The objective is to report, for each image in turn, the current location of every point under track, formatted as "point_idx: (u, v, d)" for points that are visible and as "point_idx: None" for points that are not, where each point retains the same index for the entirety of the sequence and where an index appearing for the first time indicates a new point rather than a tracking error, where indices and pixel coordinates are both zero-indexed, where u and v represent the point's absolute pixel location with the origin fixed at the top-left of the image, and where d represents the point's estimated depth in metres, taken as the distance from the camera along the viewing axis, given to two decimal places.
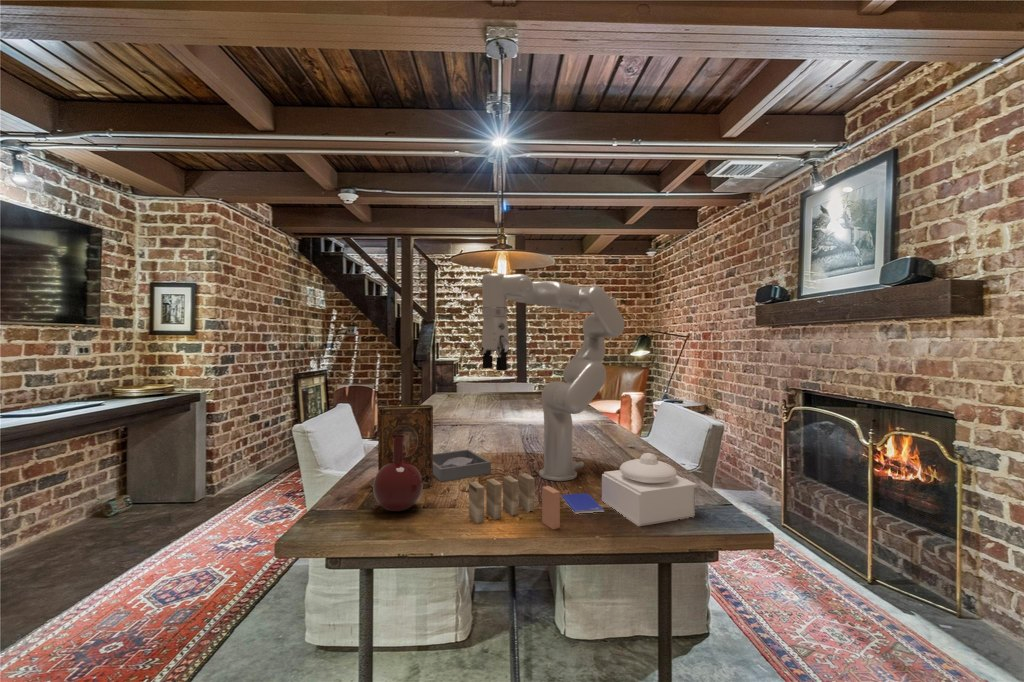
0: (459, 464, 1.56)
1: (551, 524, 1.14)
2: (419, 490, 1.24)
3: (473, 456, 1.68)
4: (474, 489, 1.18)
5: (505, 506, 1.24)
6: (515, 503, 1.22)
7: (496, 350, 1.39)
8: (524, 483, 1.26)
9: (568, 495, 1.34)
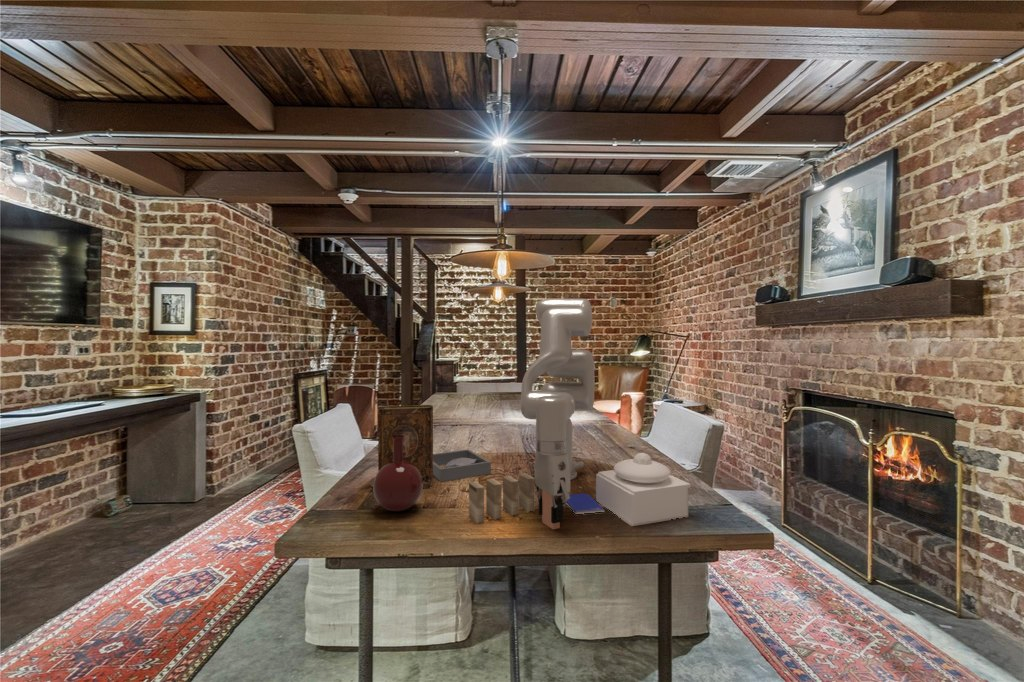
0: None
1: (551, 524, 1.14)
2: (419, 490, 1.24)
3: (473, 456, 1.68)
4: (474, 489, 1.18)
5: (505, 506, 1.24)
6: (515, 503, 1.22)
7: (552, 496, 1.13)
8: (524, 483, 1.26)
9: None
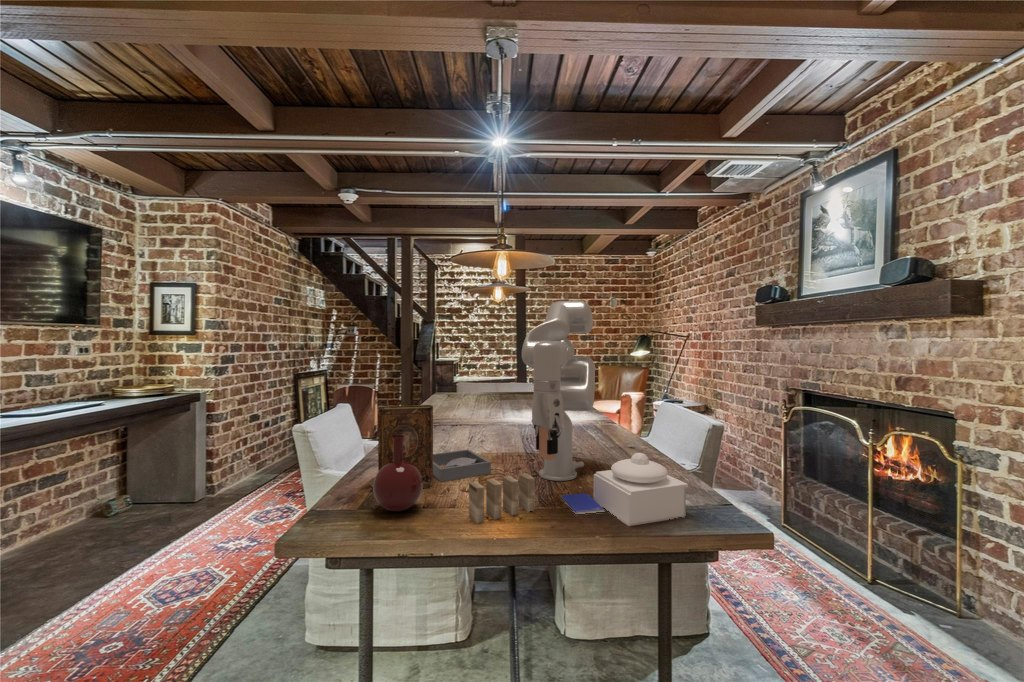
0: None
1: (547, 456, 1.27)
2: (419, 490, 1.24)
3: (473, 456, 1.68)
4: (474, 489, 1.18)
5: (505, 506, 1.24)
6: (515, 503, 1.22)
7: (548, 430, 1.26)
8: (524, 483, 1.26)
9: (568, 495, 1.34)
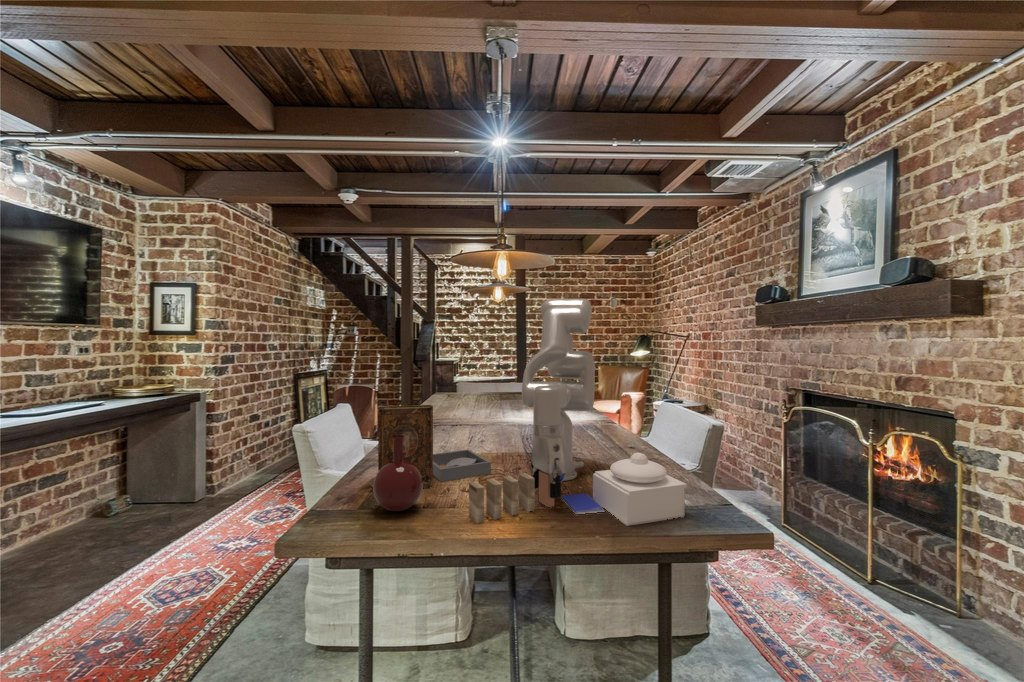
0: (465, 464, 1.55)
1: (546, 503, 1.28)
2: (419, 490, 1.24)
3: (473, 456, 1.68)
4: (474, 489, 1.18)
5: (505, 506, 1.24)
6: (515, 503, 1.22)
7: (550, 474, 1.26)
8: (524, 483, 1.26)
9: (568, 496, 1.34)
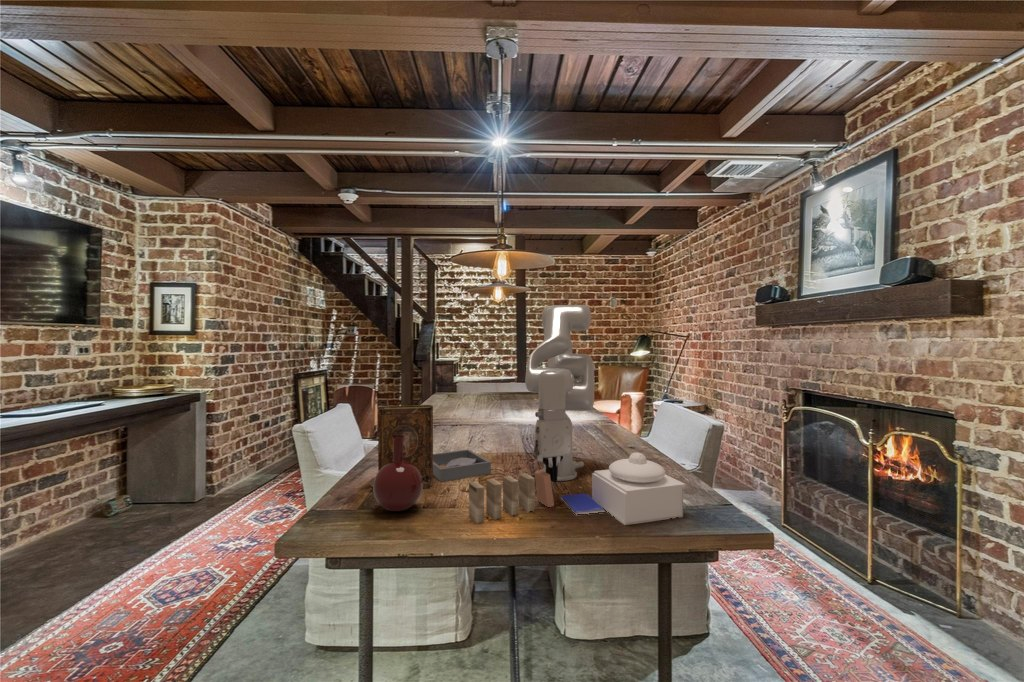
0: (465, 464, 1.55)
1: (546, 503, 1.28)
2: (419, 490, 1.24)
3: (473, 456, 1.68)
4: (474, 489, 1.18)
5: (505, 506, 1.24)
6: (515, 503, 1.22)
7: None
8: (524, 483, 1.26)
9: (567, 496, 1.34)
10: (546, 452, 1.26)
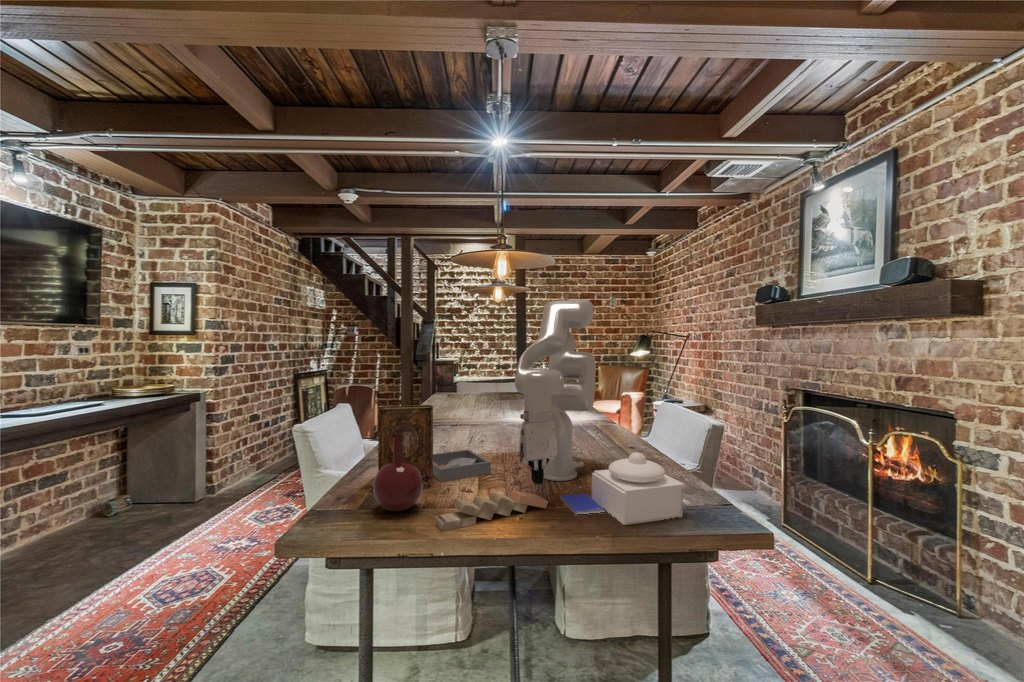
0: (466, 464, 1.55)
1: None
2: (419, 490, 1.24)
3: (473, 456, 1.68)
4: None
5: None
6: (501, 509, 1.20)
7: None
8: None
9: (567, 496, 1.34)
10: (531, 455, 1.24)
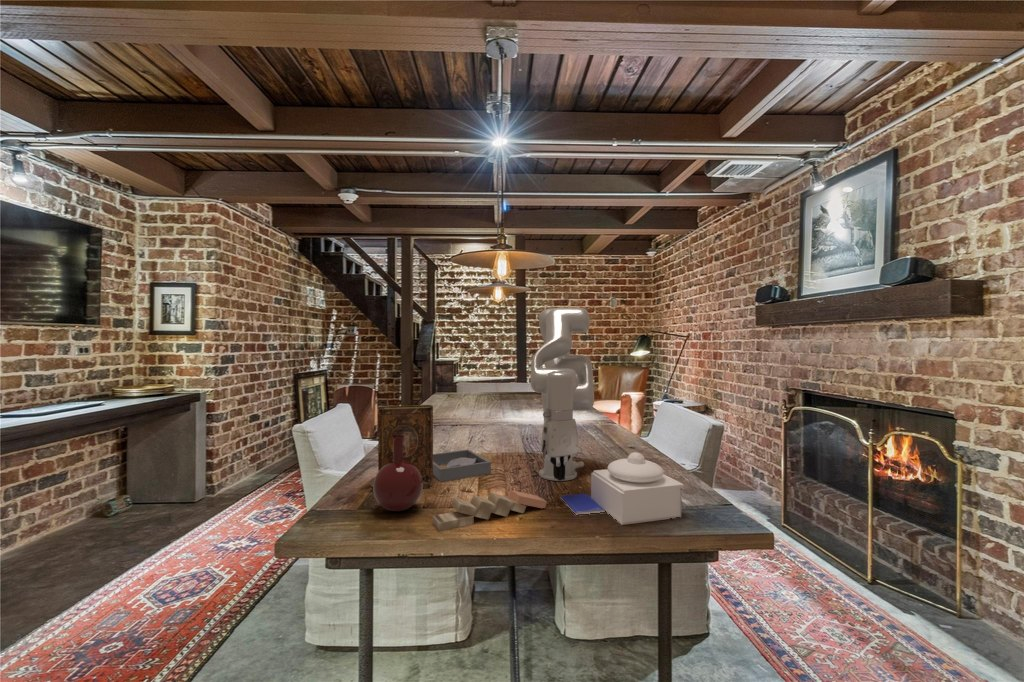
0: (467, 464, 1.56)
1: None
2: (419, 490, 1.24)
3: (473, 456, 1.68)
4: None
5: None
6: (498, 509, 1.20)
7: None
8: None
9: (567, 496, 1.33)
10: (554, 452, 1.27)
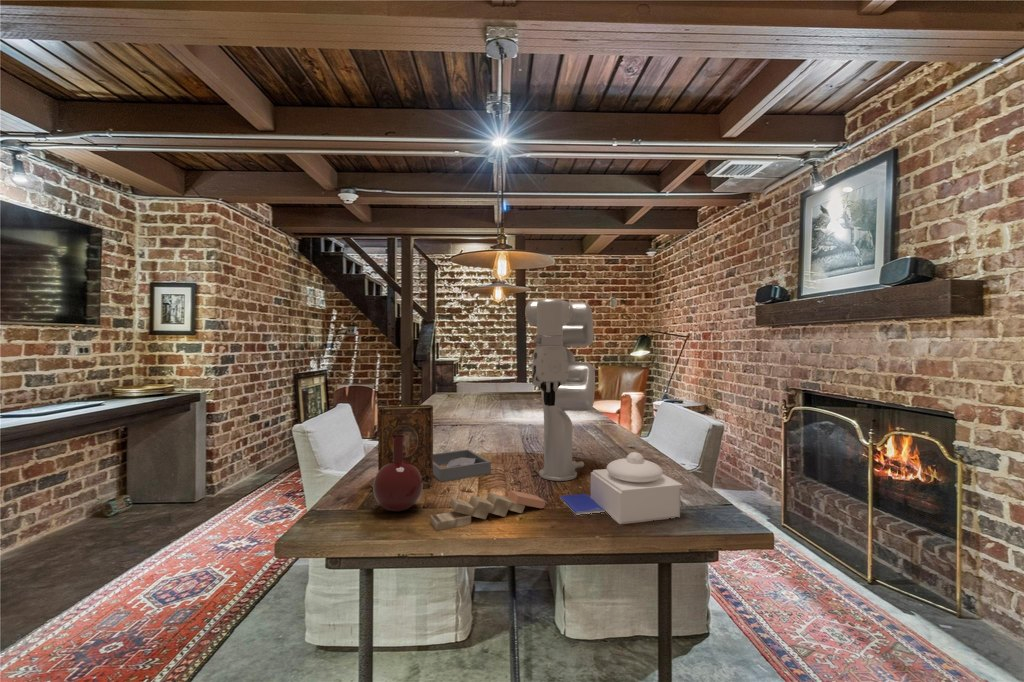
0: (467, 464, 1.56)
1: None
2: (419, 490, 1.24)
3: (473, 456, 1.68)
4: None
5: None
6: (496, 509, 1.20)
7: (543, 382, 1.35)
8: None
9: (567, 496, 1.33)
10: (544, 376, 1.30)
